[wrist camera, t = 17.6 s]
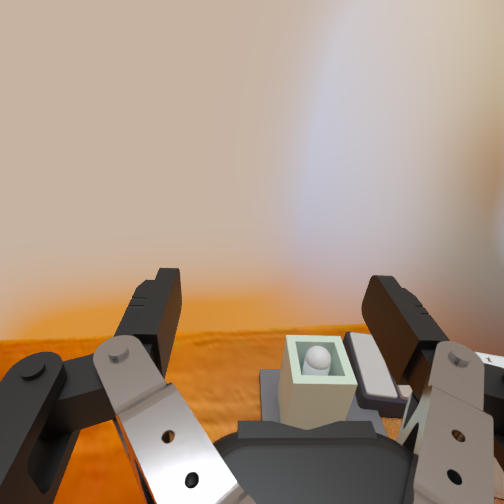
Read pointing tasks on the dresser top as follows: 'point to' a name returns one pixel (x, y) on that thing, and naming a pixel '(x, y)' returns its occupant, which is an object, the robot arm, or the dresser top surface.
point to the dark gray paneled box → (374, 377)
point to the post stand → (313, 365)
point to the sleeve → (314, 384)
